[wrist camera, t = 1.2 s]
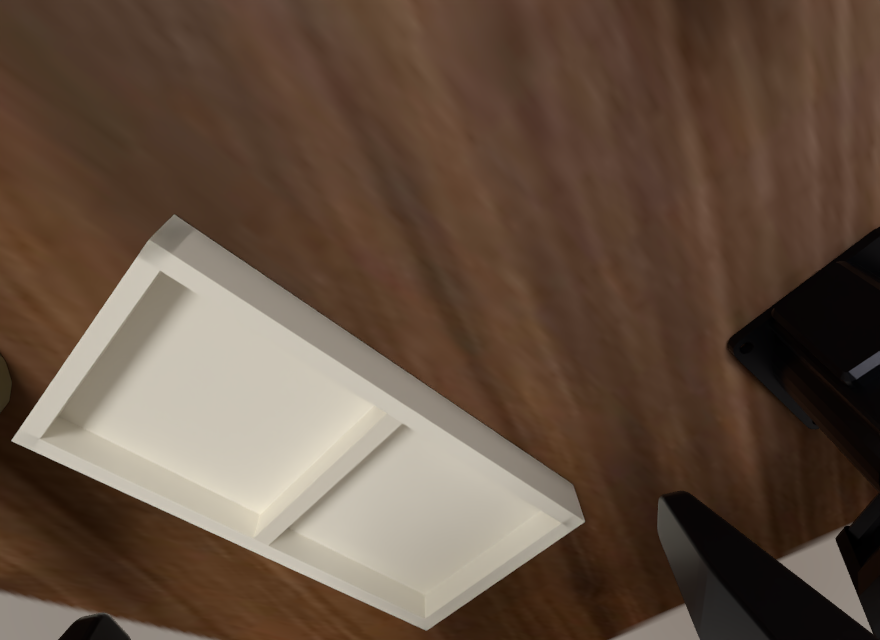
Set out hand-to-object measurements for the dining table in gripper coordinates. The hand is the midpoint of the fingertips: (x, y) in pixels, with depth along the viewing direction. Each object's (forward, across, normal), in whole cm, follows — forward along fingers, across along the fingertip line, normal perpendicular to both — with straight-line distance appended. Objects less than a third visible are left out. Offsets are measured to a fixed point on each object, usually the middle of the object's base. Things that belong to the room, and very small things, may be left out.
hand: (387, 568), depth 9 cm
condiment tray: (+12, +4, +8) cm, 15 cm away
